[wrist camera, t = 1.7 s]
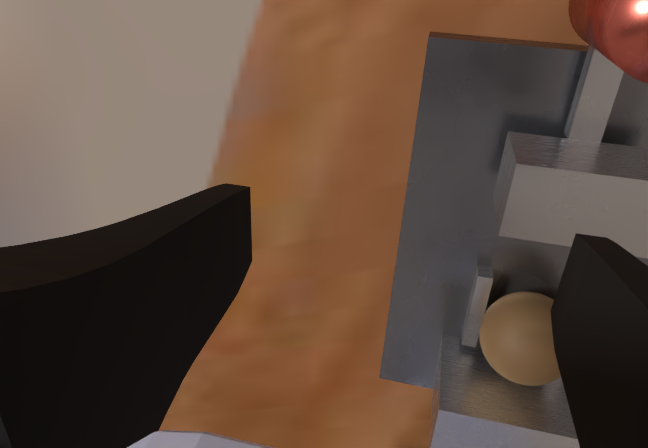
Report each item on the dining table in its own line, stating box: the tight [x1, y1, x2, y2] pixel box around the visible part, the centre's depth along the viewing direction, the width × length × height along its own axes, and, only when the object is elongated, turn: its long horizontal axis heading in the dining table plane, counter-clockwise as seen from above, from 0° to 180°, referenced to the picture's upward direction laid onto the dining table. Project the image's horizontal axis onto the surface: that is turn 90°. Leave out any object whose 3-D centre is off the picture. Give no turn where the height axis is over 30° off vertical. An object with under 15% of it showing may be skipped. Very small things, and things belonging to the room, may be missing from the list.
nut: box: [479, 291, 561, 386], centre depth 20 cm, size 4×4×4 cm
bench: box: [379, 32, 648, 448], centre depth 19 cm, size 16×11×6 cm
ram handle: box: [493, 0, 648, 259], centre depth 15 cm, size 8×5×5 cm, turn 177°
